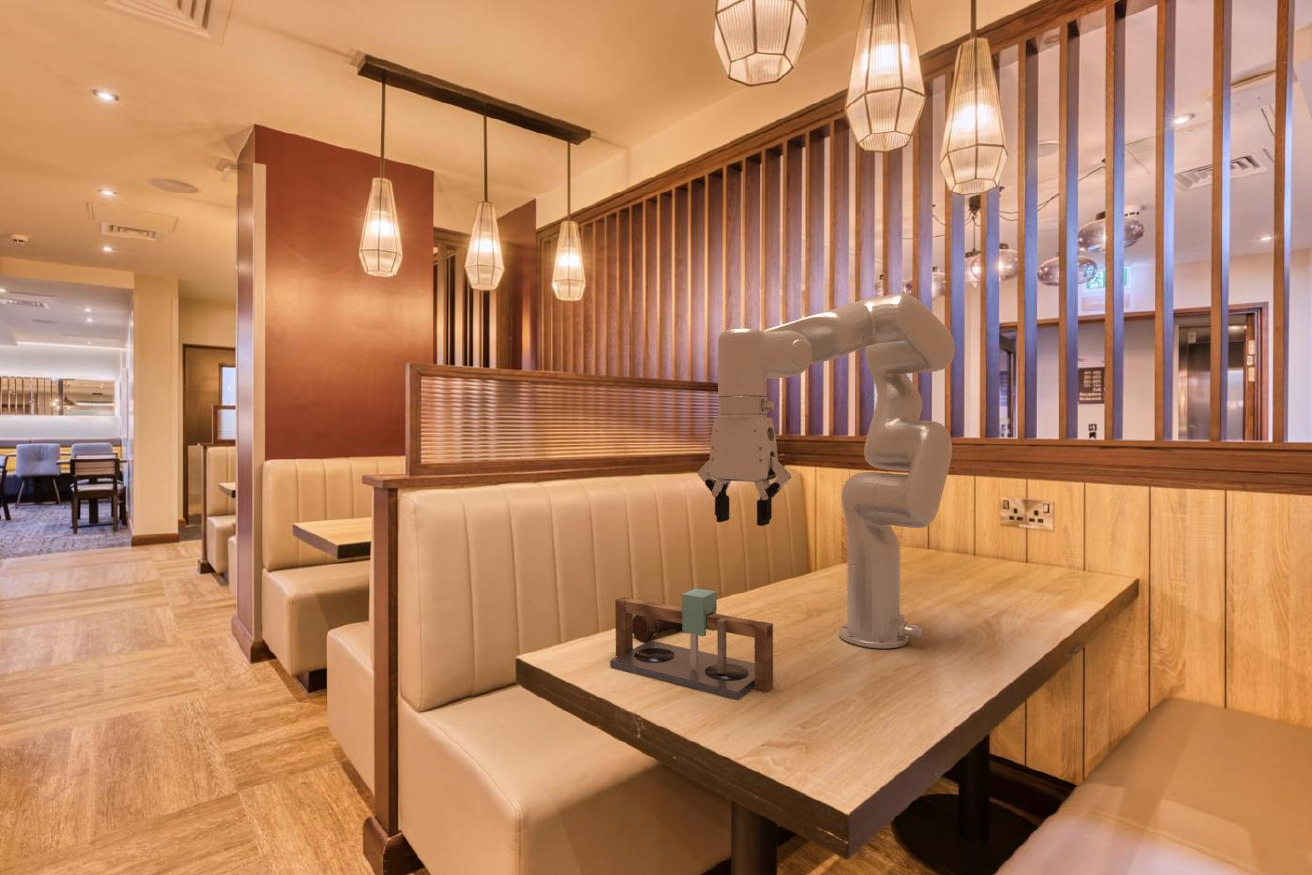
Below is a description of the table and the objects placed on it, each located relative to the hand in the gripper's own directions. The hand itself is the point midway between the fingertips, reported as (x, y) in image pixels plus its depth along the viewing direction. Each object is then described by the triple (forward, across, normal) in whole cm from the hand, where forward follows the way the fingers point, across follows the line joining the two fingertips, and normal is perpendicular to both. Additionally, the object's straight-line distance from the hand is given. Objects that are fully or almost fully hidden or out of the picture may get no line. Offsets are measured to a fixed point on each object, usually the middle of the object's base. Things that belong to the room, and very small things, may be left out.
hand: (742, 521), depth 103 cm
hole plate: (+26, +10, 0) cm, 28 cm away
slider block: (+24, +8, 0) cm, 25 cm away
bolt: (+26, +23, -15) cm, 38 cm away
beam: (+26, +10, 0) cm, 28 cm away
